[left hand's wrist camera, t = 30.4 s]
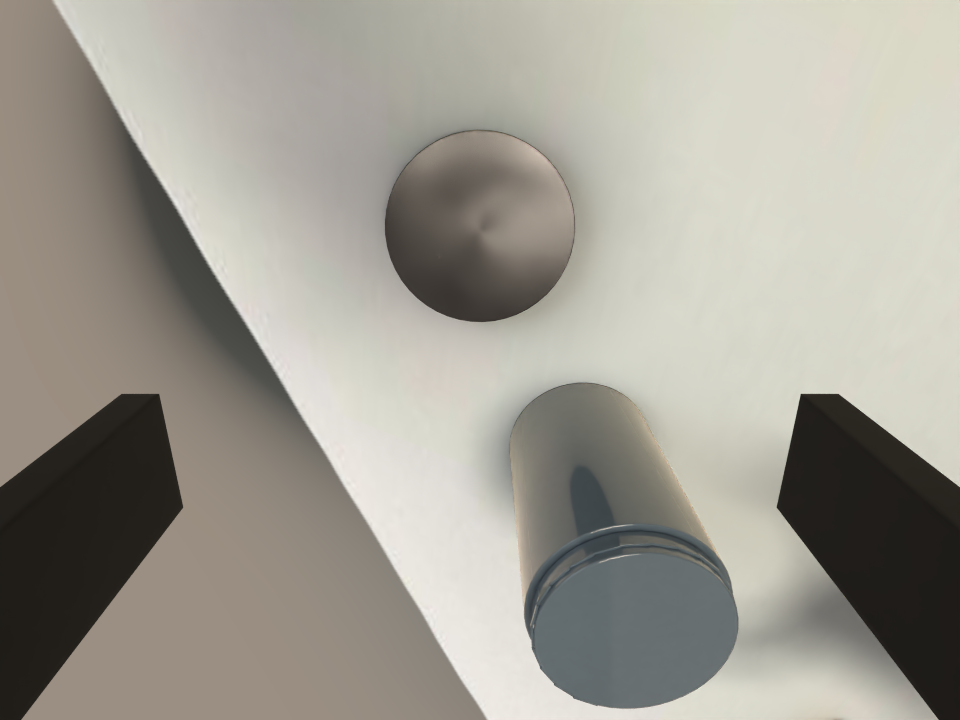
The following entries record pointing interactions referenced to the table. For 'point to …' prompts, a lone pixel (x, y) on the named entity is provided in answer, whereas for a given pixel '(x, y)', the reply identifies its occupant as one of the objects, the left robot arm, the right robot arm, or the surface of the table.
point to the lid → (479, 226)
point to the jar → (613, 555)
